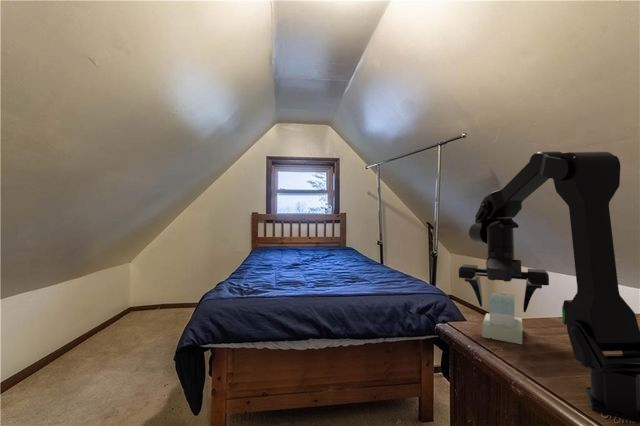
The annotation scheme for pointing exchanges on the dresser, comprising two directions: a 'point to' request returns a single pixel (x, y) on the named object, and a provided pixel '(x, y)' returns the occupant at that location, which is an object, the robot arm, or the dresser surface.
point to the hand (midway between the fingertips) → (502, 308)
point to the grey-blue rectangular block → (502, 310)
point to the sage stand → (502, 331)
